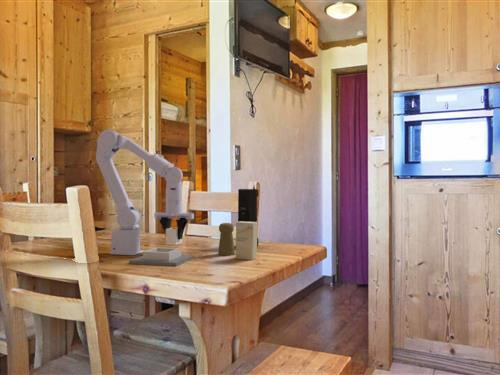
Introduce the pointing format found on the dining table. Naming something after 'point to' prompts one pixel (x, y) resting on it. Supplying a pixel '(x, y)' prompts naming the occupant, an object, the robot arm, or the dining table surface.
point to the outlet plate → (162, 257)
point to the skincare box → (246, 240)
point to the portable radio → (247, 205)
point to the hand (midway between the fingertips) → (174, 238)
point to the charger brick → (172, 236)
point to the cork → (226, 240)
